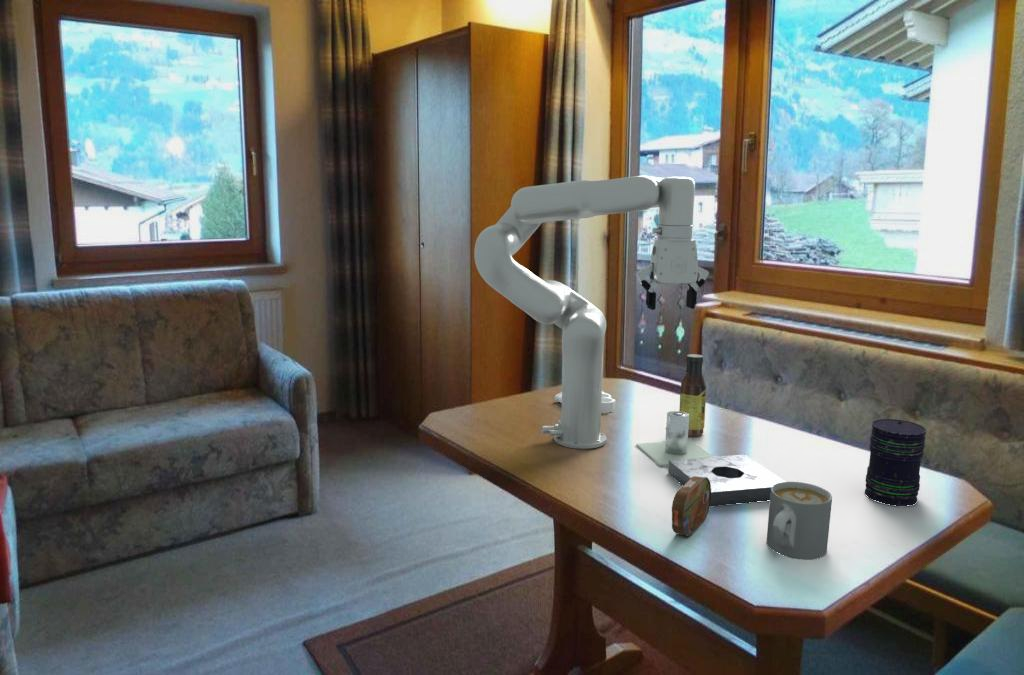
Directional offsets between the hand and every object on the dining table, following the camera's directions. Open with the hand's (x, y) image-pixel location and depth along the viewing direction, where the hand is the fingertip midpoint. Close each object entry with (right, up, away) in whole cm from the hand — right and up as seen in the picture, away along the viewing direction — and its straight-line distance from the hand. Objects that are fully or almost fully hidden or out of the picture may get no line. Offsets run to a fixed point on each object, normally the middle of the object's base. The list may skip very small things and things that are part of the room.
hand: (670, 308), depth 181 cm
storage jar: (+40, -39, -21) cm, 60 cm away
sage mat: (+2, -34, +2) cm, 34 cm away
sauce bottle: (+8, -31, +17) cm, 36 cm away
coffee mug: (+12, -44, -44) cm, 63 cm away
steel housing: (+8, -38, -16) cm, 42 cm away
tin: (-4, -42, -35) cm, 55 cm away
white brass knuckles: (-15, -26, +40) cm, 50 cm away
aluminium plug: (+2, -33, +2) cm, 33 cm away
